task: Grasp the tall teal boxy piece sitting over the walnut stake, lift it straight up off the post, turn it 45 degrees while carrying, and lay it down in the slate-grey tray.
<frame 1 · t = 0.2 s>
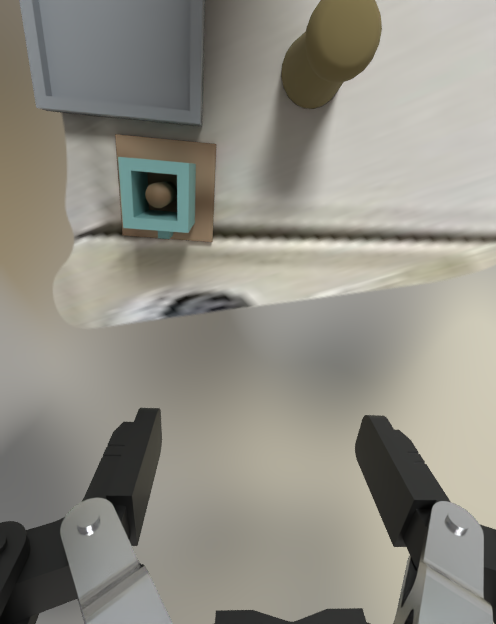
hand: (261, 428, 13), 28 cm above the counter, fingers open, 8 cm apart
stake: (168, 191, 35), on the counter
tray: (120, 22, 29), on the counter
teal boxy piece: (167, 191, 34), point 1 cm above the counter, touching stake
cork: (311, 72, 31), on the counter
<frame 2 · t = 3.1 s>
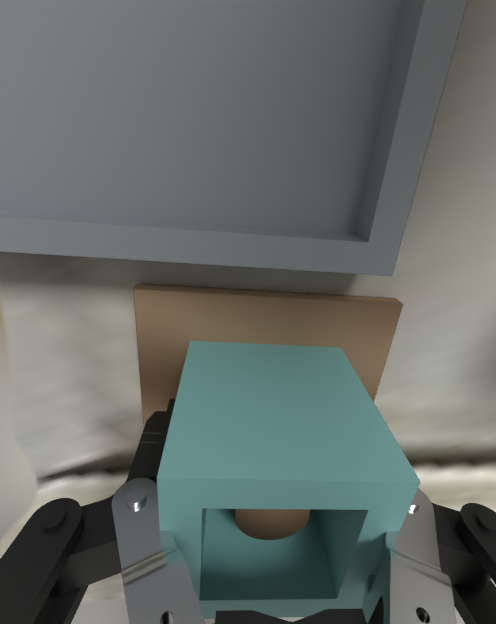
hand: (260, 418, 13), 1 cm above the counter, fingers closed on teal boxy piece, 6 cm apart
stake: (258, 395, 14), on the counter
teal boxy piece: (259, 404, 14), point 1 cm above the counter, touching gripper, stake
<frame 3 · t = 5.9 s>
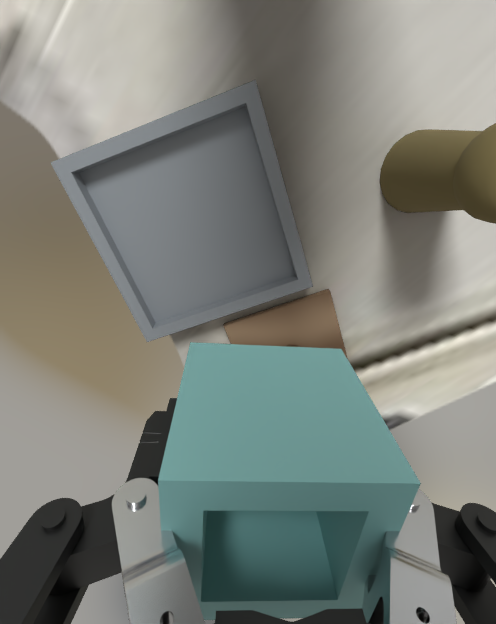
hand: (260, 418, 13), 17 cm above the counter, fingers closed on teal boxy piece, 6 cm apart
stake: (290, 351, 31), on the counter
tray: (196, 226, 26), on the counter
teal boxy piece: (260, 405, 14), point 16 cm above the counter, touching gripper
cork: (416, 173, 26), on the counter
when the fingers open (3 cm above the counter, at t = 9.1 s): teal boxy piece drops 1 cm, resting on tray.
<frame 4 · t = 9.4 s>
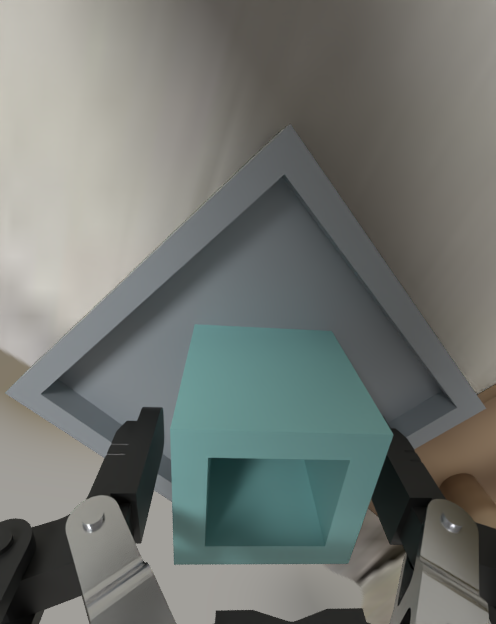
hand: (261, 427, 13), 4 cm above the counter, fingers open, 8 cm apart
stake: (451, 477, 20), on the counter
tray: (255, 374, 16), on the counter
teal boxy piece: (258, 384, 15), point 1 cm above the counter, touching tray
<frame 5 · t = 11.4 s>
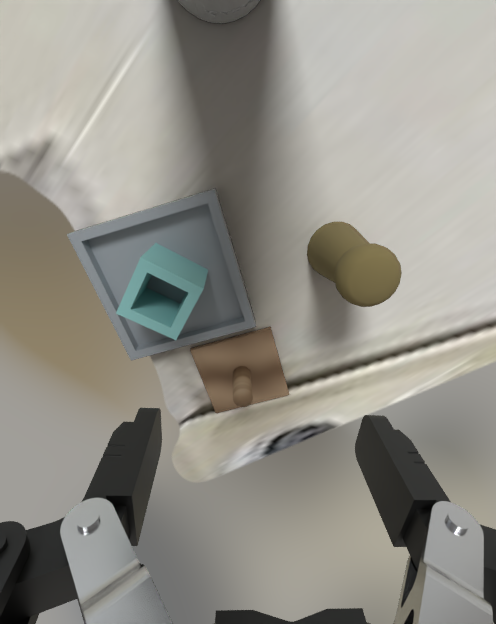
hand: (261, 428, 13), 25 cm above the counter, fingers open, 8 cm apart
stake: (241, 370, 41), on the counter
tray: (171, 278, 36), on the counter
teal boxy piece: (170, 280, 35), point 1 cm above the counter, touching tray
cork: (334, 249, 35), on the counter
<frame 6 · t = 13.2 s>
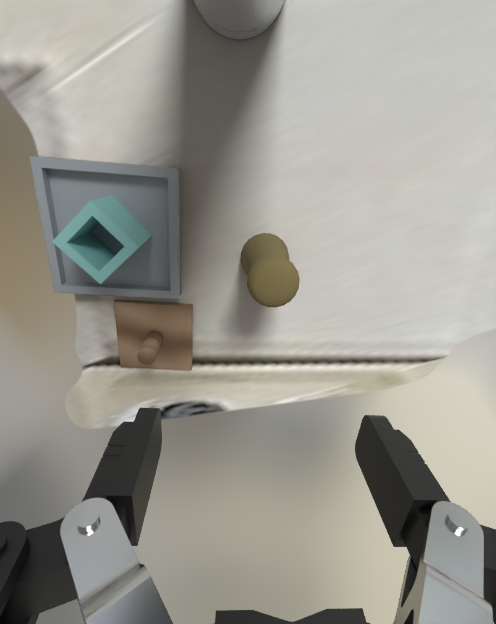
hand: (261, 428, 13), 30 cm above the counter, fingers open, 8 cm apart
stake: (155, 335, 45), on the counter
tray: (117, 231, 39), on the counter
teal boxy piece: (115, 233, 38), point 1 cm above the counter, touching tray
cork: (264, 256, 41), on the counter
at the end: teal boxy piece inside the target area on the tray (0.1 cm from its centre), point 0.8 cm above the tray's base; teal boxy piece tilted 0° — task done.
